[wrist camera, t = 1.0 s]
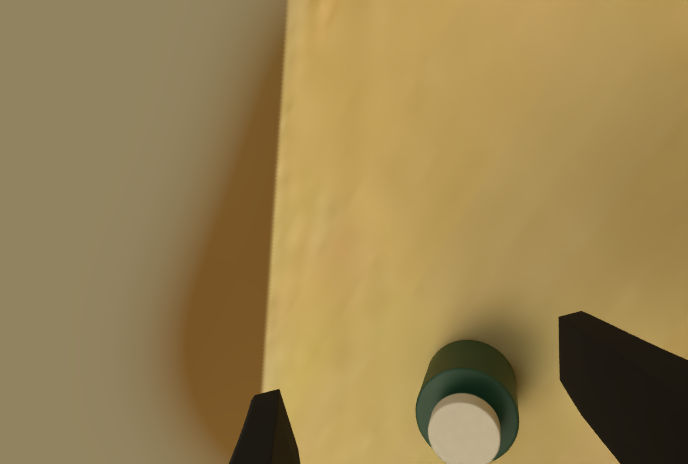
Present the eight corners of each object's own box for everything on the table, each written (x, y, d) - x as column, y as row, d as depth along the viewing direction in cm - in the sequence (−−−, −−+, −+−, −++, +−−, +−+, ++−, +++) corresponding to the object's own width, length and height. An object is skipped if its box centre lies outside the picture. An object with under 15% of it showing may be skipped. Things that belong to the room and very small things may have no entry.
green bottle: (532, 403, 24) (542, 466, 19) (453, 435, 25) (441, 503, 20) (488, 325, 24) (486, 366, 19) (411, 360, 25) (390, 408, 20)
